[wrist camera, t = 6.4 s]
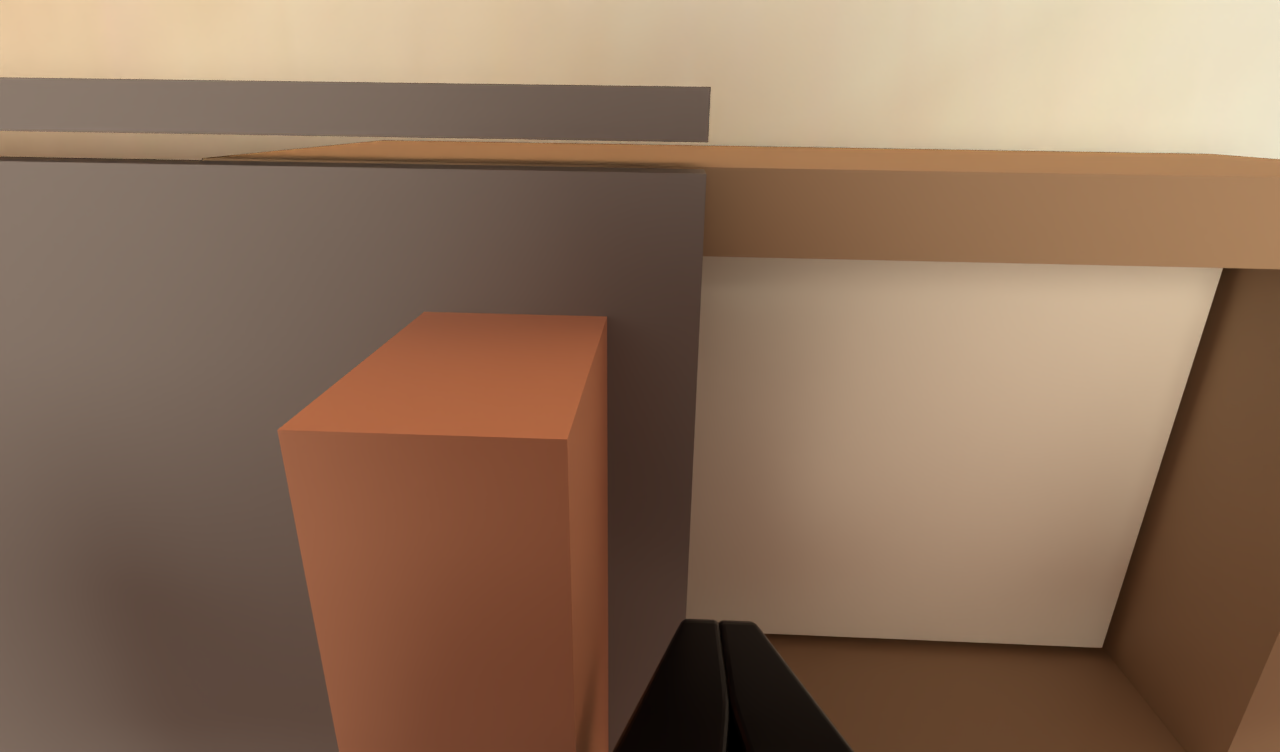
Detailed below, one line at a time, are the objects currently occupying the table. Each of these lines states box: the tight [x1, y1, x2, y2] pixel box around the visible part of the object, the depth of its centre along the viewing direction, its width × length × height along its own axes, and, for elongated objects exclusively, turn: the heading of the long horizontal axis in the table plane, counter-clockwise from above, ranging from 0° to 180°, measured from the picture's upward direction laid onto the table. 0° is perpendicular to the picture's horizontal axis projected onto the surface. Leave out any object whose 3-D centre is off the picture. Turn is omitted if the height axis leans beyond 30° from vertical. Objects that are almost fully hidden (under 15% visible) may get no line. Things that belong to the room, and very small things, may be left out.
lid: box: [0, 78, 711, 752], centre depth 8 cm, size 15×12×5 cm
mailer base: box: [202, 140, 1280, 752], centre depth 12 cm, size 15×10×5 cm, turn 89°
